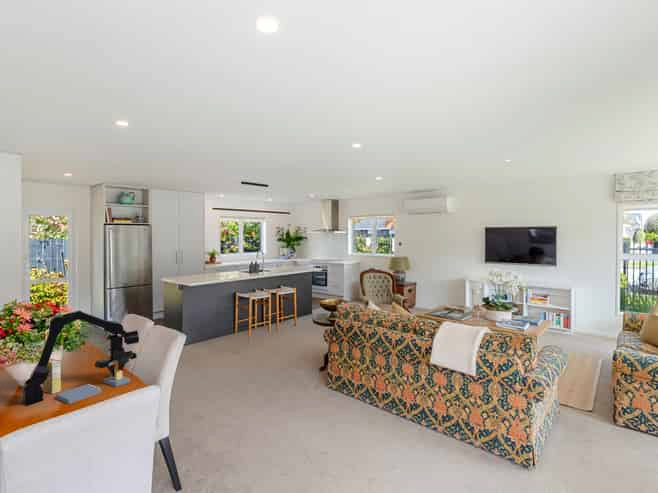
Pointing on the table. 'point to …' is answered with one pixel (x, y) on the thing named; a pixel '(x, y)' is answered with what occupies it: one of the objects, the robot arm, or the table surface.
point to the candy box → (53, 377)
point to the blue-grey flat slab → (78, 393)
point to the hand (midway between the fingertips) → (116, 375)
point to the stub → (117, 379)
